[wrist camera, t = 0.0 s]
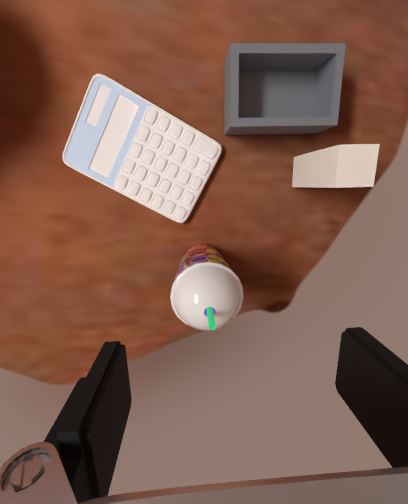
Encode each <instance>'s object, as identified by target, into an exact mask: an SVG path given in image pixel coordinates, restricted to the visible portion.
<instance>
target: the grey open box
mask: <svg viewBox="0 0 408 504" xmlns="http://www.w3.org/2000/svg"><path fill="white" fill-rule="evenodd" d="M345 45H346V44H334V43H231V44H230V47H229V50H228V54H227V57H226V60H225V64H224V135H260V134H317V133H319V132H322V131H324V130H327V129H329V128H332V127H334V126H337V125H338V115H339V105H340V95H341V85H342V75H343V65H344V55H345Z"/></svg>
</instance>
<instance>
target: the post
mask: <svg viewBox="0 0 408 504" xmlns="http://www.w3.org/2000/svg"><path fill="white" fill-rule="evenodd" d="M378 151H379V144H349V145H336V146H333V147H329V148H325V149H322V150H318V151H314V152H311V153H307V154H303V155H299V156H296V157H294V167H293V183H292V187H315V188H345V187H374V180H375V172H376V165H377V158H378Z"/></svg>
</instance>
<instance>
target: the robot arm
mask: <svg viewBox="0 0 408 504" xmlns="http://www.w3.org/2000/svg"><path fill="white" fill-rule="evenodd" d="M335 384H336V389H337V391H338V393H339V394H340V396H341V397H342V398H343V400H344V401H345V403H346V404H347V405H348V407H349V408H350V410H351V411H352V412H353V414H354V415H355V416H356V418H357V419H358V421H359V422H360V423H361V424H362V426H363V427H364V429H365V430H366V432H367V433H368V434H369V436H370V437H371V438H372V440H373V441H374V443H375V444H376V445H377V447H378V448H379V450H380V451H381V452H382V454H383V455H384V456H385V458H386V459H387V460H388V462H389V463H390V465H391V466H392V467H393V468H387V469H374V470H363V471H350V472H339V473H326V474H315V475H304V476H292V477H281V478H270V479H259V480H248V481H238V482H227V483H217V484H206V485H195V486H185V487H175V488H167V489H157V490H149V491H140V492H131V493H124V494H118V495H112V496H108V492H109V488H110V484H111V480H112V476H113V473H114V469H115V465H116V461H117V457H118V453H119V450H120V445H121V442H122V438H123V434H124V430H125V427H126V423H127V419H128V415H129V411H130V407H131V391H130V383H129V375H128V366H127V357H126V349H125V345H121V343H120V342H119V341H114V342H105V343H104V345H103V347H102V348H101V350H100V352H99V354H98V356H97V358H96V360H95V362H94V363H93V365H92V367H91V369H90V371H89V373H88V375H87V377H83V378H80V379H79V381H78V382H77V384H76V385H75V387H74V389H73V391H72V393H71V394H70V396H69V398H68V400H67V401H66V403H65V405H64V407H63V409H62V410H61V412H60V414H59V416H58V417H57V419H56V421H55V423H54V425H53V426H52V428H51V430H50V431H49V433H48V435H47V437H46V439H45V440H44V442H39V443H35V444H31V445H29V446H27V447H25V448H23V449H21V450H20V451H18V452H17V453H15V454H14V455H13V456H11V458H9V459H8V461H6V462H5V463H4V464H3V466H2V467H1V468H0V504H408V365H407V364H406V363H405V362H404V361H402V360H401V359H400V358H399V357H397V356H396V355H395V354H394V353H393V352H391V351H390V350H389V349H388V348H386V347H385V346H384V345H383V344H382V343H380V342H379V341H378V340H377V339H375V338H374V337H373V336H372V335H370V334H369V333H368V332H367V331H366V330H364V329H363V328H361V327H357V328H347V329H346V330H345V332H343V333H342V335H341V343H340V351H339V360H338V367H337V374H336V382H335Z"/></svg>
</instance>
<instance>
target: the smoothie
mask: <svg viewBox="0 0 408 504" xmlns="http://www.w3.org/2000/svg"><path fill="white" fill-rule="evenodd" d="M170 299H171V304H172V308H173V310H174V312H175V314H176V315H177V317H178V318H179V319H180V320H182V321H183V322H184V323H185V324H187V325H189V326H191V327H193V328H196V329H199V330H206V331H208V330H215V329H218V328H220V327H223V326H225V325H226V324H227V323H228V322H229V321H231V320H232V319H233V318H234V317H235V316H236V315H237V313H238V311H239V310H240V308H241V305H242V301H243V287H242V284H241V282H240V280H239V278H238V276H237V275H236V274H235V273H234V272H233V271H232V269H231V268H230V267H229V265H228V264H227V263H226V261H225V260H224V259H223V257H222V256H221V255H220V253H219V252H218V251H217V250H216V249H215V248H213V247H211V246H209V245H204V244H199V245H194V246H193V247H191V248H189V249H188V250H187V251H186V252H185V253H184V255H183V257H182V258H181V262H180V265H179V268H178V271H177V274H176V277H175V280H174V284H173V285H172V289H171V295H170Z"/></svg>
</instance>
